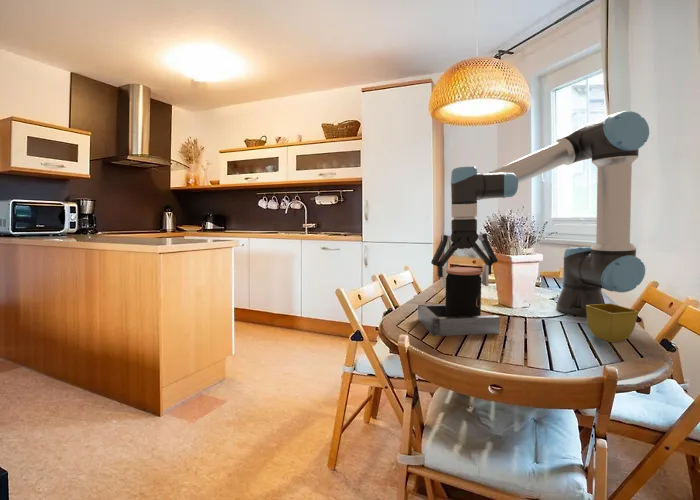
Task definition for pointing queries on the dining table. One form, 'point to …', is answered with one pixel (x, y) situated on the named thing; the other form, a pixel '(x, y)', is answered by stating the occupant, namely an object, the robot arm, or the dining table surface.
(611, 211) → the robot arm
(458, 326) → the channel
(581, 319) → the dining table surface
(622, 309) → the flower pot
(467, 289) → the coffee jar
